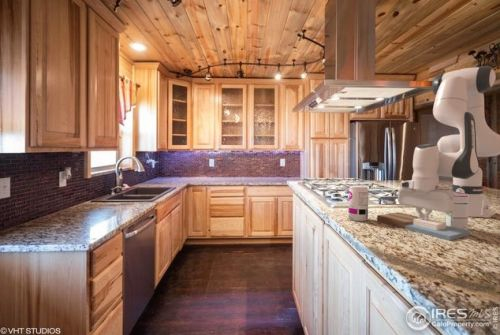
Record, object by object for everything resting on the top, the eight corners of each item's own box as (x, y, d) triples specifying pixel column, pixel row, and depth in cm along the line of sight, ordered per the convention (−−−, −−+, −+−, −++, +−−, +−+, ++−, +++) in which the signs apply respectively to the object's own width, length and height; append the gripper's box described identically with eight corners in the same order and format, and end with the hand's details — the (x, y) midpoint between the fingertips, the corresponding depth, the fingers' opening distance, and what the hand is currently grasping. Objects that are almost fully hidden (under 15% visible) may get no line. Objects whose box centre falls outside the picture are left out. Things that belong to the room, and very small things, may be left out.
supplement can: (347, 220, 121) (348, 187, 120) (348, 216, 128) (349, 184, 128) (367, 222, 118) (368, 188, 117) (367, 218, 125) (368, 185, 124)
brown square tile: (397, 217, 126) (397, 212, 126) (426, 224, 115) (426, 218, 115) (376, 221, 120) (377, 215, 120) (405, 228, 108) (405, 222, 108)
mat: (426, 224, 115) (426, 220, 115) (471, 234, 100) (471, 230, 100) (405, 228, 108) (405, 224, 108) (449, 240, 94) (449, 236, 94)
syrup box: (468, 231, 105) (470, 194, 104) (451, 230, 106) (452, 193, 105) (460, 227, 111) (461, 191, 110) (443, 226, 112) (445, 191, 111)
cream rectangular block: (422, 222, 112) (422, 217, 112) (446, 228, 104) (446, 223, 104) (413, 224, 109) (413, 219, 109) (436, 230, 101) (437, 224, 101)
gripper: (459, 187, 100) (457, 224, 101) (405, 181, 118) (404, 213, 119) (449, 188, 97) (447, 226, 98) (396, 182, 116) (395, 214, 116)
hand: (423, 219), depth 109 cm, fingers closed
